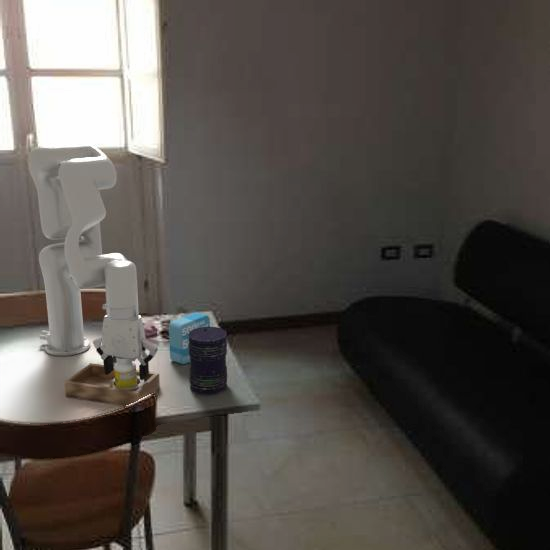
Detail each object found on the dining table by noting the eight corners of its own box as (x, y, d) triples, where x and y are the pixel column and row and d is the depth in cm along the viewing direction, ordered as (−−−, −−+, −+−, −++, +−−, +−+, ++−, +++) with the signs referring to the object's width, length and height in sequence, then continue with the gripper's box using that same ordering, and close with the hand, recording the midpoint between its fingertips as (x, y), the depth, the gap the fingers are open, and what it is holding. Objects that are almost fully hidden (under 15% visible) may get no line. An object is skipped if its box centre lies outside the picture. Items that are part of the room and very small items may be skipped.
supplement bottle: (117, 386, 170) (114, 351, 167) (138, 385, 170) (136, 350, 167) (114, 396, 164) (112, 360, 162) (136, 395, 165) (134, 359, 162)
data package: (180, 366, 184) (179, 326, 180) (169, 361, 186) (168, 322, 183) (210, 352, 193) (210, 314, 189) (199, 348, 195) (198, 310, 192)
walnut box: (65, 396, 166) (64, 382, 164) (91, 376, 177) (90, 363, 175) (137, 408, 160) (137, 393, 159) (159, 387, 171) (159, 373, 170)
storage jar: (231, 393, 168) (230, 338, 164) (193, 398, 166) (191, 342, 161) (223, 376, 178) (222, 324, 173) (186, 381, 175) (185, 328, 171)
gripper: (83, 312, 160) (88, 376, 165) (147, 320, 155) (151, 386, 160) (99, 302, 167) (103, 364, 172) (161, 309, 162) (164, 373, 167)
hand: (126, 375), depth 166 cm, fingers open, 9 cm apart
